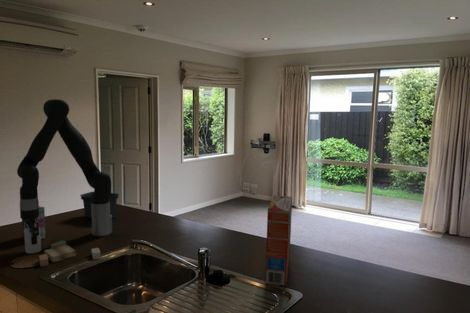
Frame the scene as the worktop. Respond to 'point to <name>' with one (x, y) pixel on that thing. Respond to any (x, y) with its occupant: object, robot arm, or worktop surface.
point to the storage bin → (87, 204)
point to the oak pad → (60, 253)
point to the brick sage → (58, 244)
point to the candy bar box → (40, 222)
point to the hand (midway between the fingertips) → (31, 241)
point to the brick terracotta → (43, 260)
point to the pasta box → (278, 240)
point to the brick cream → (96, 253)
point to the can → (28, 245)
